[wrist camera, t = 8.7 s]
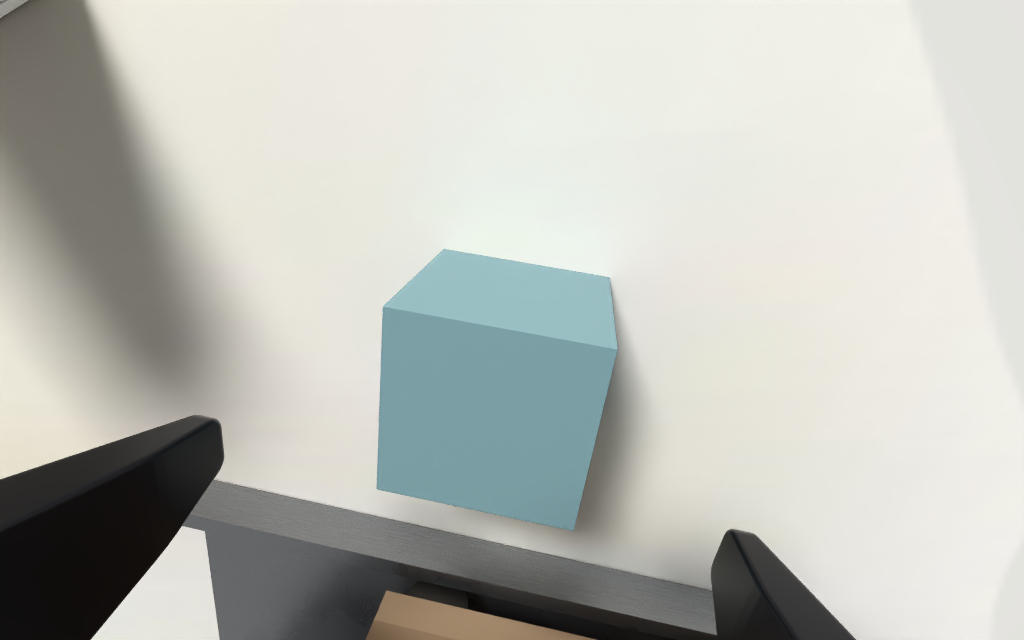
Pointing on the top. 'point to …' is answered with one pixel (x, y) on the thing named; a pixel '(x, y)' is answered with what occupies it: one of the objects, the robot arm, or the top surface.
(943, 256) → the top surface
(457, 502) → the part block
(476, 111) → the top surface
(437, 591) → the wooden drawer
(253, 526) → the track
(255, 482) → the top surface
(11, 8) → the ink box
